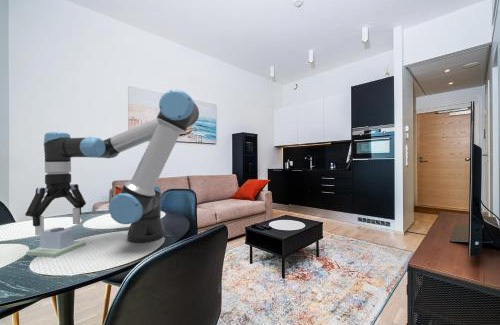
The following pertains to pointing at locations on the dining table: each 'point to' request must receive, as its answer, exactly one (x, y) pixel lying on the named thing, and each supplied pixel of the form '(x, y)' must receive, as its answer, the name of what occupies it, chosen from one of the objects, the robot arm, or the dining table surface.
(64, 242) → the plug
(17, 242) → the dining table surface
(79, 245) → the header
